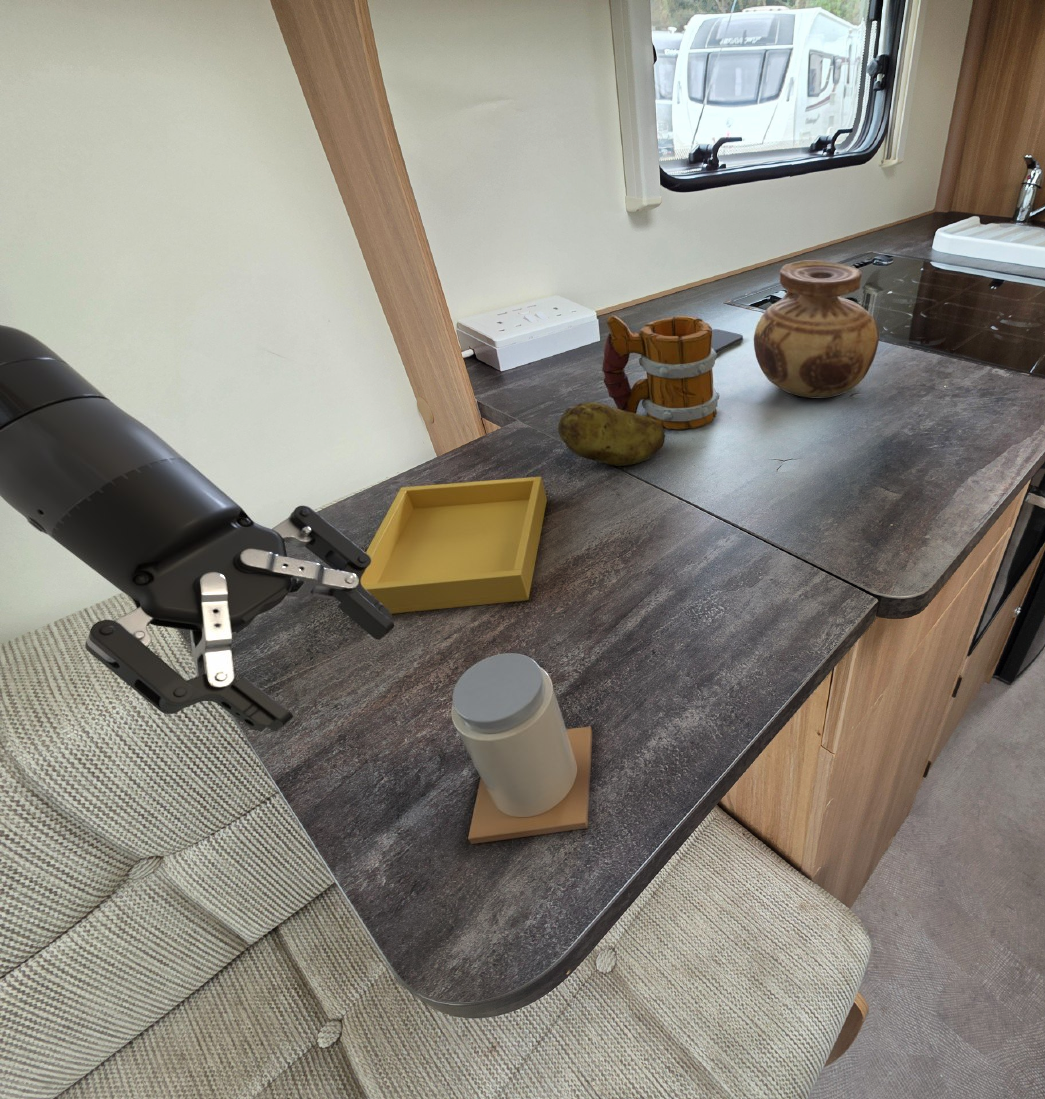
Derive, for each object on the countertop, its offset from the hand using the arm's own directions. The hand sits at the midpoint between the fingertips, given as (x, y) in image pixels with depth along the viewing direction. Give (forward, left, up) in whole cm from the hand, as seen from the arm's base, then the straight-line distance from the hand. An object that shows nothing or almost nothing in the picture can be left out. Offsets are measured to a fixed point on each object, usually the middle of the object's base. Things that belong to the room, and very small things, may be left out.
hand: (340, 675), depth 40 cm
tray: (+23, -1, -8) cm, 25 cm away
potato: (+40, -17, -8) cm, 45 cm away
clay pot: (+59, -48, -8) cm, 77 cm away
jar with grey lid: (-5, -12, -7) cm, 15 cm away
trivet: (-5, -12, -8) cm, 15 cm away
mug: (+52, -24, -8) cm, 58 cm away
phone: (+79, -33, -8) cm, 87 cm away
